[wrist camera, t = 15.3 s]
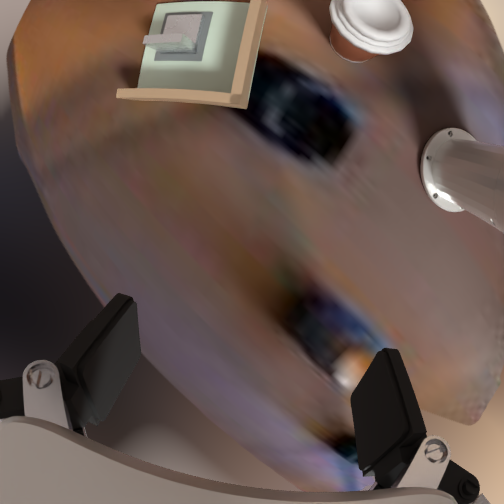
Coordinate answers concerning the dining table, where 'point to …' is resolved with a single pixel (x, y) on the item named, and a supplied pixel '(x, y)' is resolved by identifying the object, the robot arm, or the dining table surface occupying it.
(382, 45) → the coffee cup
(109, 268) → the dining table surface
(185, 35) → the bracket
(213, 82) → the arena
